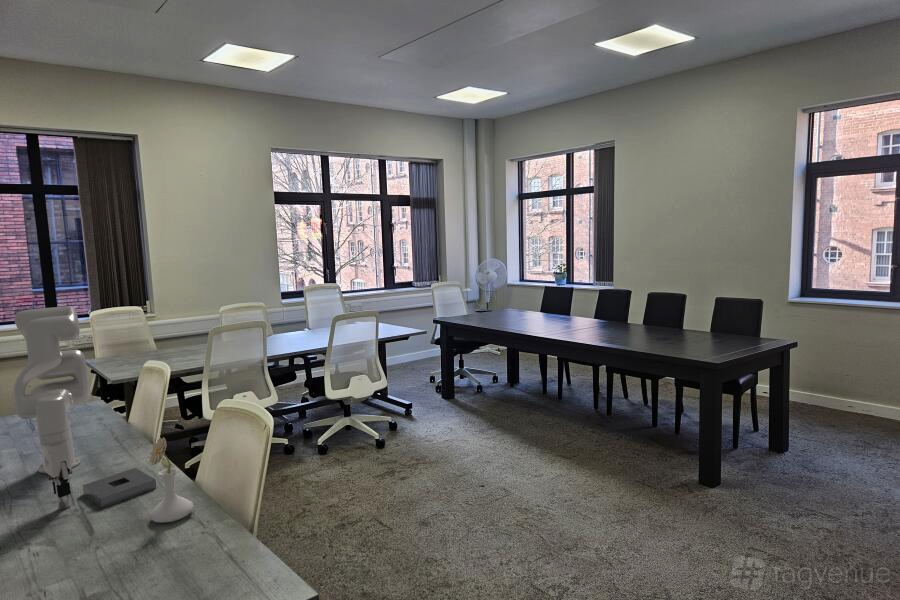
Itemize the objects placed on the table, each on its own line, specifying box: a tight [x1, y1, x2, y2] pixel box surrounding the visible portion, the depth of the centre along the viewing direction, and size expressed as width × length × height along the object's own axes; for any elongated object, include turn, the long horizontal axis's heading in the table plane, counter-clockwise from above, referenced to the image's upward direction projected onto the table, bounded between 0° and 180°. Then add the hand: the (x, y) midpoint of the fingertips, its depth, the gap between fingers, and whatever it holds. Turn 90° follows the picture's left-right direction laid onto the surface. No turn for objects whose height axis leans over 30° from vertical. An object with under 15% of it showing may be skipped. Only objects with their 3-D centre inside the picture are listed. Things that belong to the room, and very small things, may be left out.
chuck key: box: [46, 470, 73, 510], centre depth 168 cm, size 3×6×11 cm, turn 141°
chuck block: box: [82, 467, 157, 509], centre depth 178 cm, size 16×16×3 cm
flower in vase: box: [148, 437, 195, 524], centre depth 158 cm, size 13×11×25 cm
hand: (62, 493), depth 168 cm, fingers closed on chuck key, 3 cm apart
